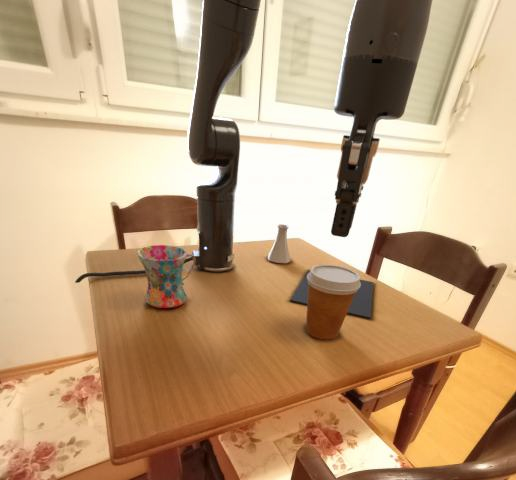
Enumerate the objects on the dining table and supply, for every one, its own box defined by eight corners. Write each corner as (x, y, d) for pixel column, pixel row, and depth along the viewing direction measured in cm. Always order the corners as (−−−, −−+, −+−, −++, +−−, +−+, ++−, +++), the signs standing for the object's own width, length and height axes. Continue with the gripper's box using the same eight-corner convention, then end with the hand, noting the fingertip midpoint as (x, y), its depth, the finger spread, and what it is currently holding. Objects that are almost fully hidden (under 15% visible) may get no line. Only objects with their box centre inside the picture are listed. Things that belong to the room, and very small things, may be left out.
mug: (157, 316, 61) (151, 263, 55) (135, 298, 66) (128, 248, 60) (208, 301, 68) (207, 253, 62) (185, 286, 73) (182, 240, 67)
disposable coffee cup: (348, 325, 64) (364, 269, 57) (343, 349, 56) (361, 288, 50) (303, 315, 66) (313, 260, 59) (292, 337, 58) (302, 276, 52)
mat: (370, 319, 67) (370, 317, 67) (290, 301, 71) (290, 299, 71) (372, 283, 85) (373, 282, 85) (308, 270, 89) (308, 269, 89)
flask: (292, 258, 97) (297, 224, 92) (288, 265, 91) (293, 230, 86) (269, 254, 98) (273, 221, 93) (264, 261, 92) (268, 226, 87)
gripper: (348, 71, 38) (321, 218, 48) (334, 39, 27) (302, 240, 37) (412, 74, 37) (371, 226, 46) (426, 41, 25) (367, 251, 35)
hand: (341, 231), depth 41 cm, fingers open, 3 cm apart
